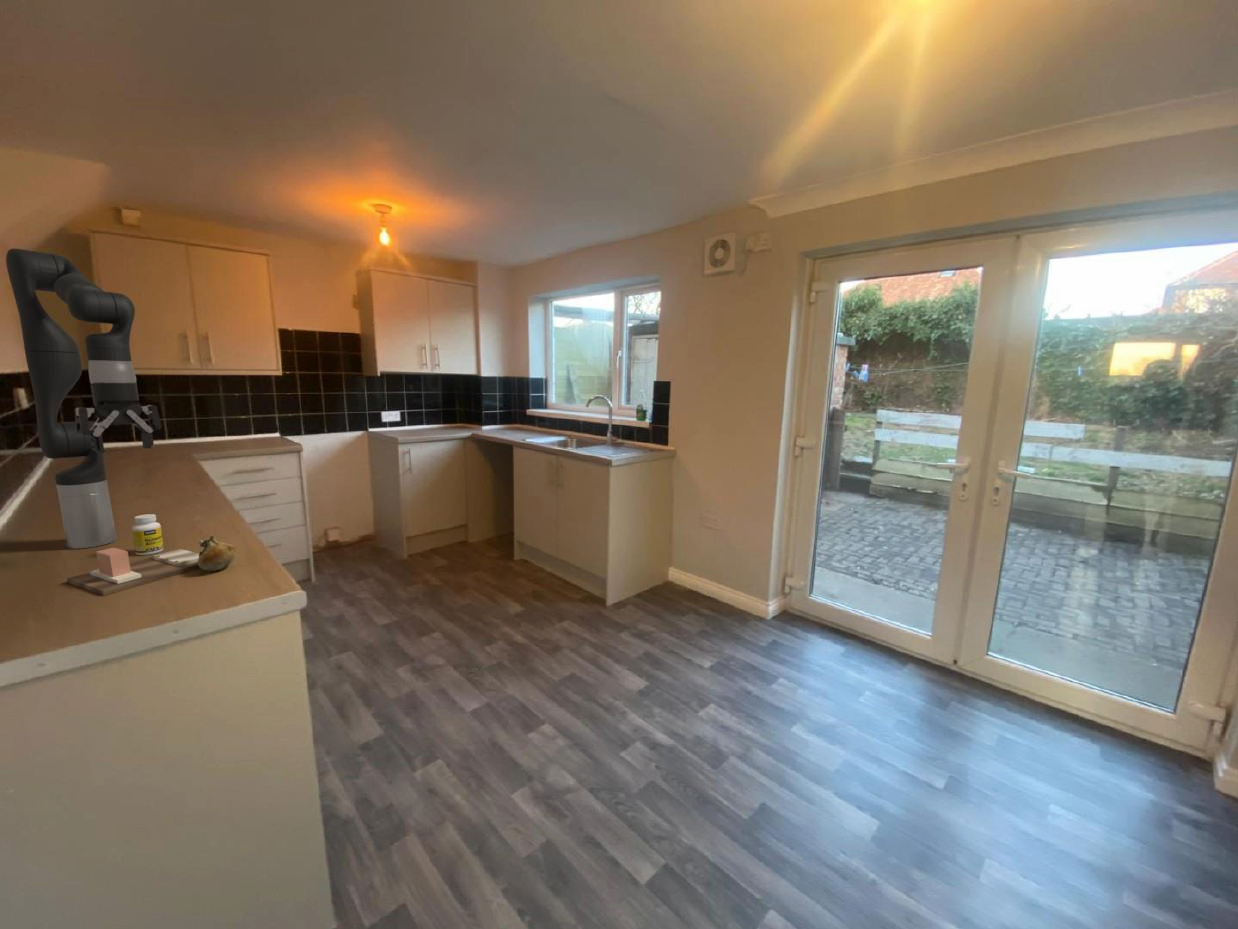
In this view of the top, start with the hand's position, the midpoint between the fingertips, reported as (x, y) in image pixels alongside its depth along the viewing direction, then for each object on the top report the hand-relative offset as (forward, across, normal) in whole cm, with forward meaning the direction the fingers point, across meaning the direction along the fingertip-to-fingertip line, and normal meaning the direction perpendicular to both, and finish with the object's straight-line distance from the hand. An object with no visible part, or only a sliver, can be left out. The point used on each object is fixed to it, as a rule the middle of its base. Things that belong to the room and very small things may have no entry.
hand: (124, 450), depth 117 cm
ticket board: (+28, +3, +8) cm, 29 cm away
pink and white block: (+27, +8, +8) cm, 29 cm away
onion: (+28, -6, +21) cm, 36 cm away
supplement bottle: (+28, -5, -8) cm, 30 cm away
